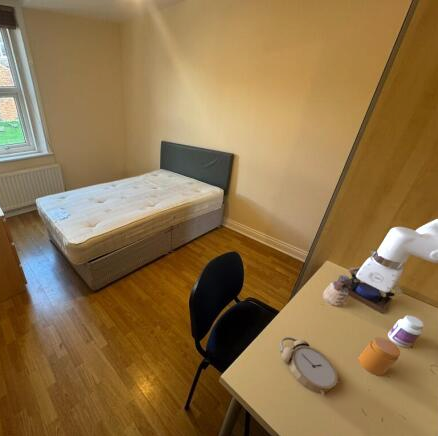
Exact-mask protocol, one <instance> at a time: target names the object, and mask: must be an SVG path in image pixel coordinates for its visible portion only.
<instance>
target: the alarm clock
mask: <svg viewBox="0 0 438 436" xmlns="http://www.w3.org/2000/svg"><path fill="white" fill-rule="evenodd" d="M287 340H289V341H292V346H285V347H284V346H283V343H284V341H287ZM280 353H281V359H282V361H283V362H284V363H285V364H288V367H289V369H290V372H291V374H292V375H293V377H294V378H295V380H296V381H297V382H299V383H300V384H301V385H302V386H303V387H305V388H307V389H308V390H309V391H311V392H314V393H317V394H321V395H322V396H323V397H326V396H325V393H327V392H329V391H331V389H333V388H334V387H335V386H336V385H337V383H341V381H340V380H339V379H338V374H337V370H336V367H335V366H334V364H333V363H332V361H330V359H329V358H328V357H327V356H326V355H325V354H324V353H322V352H321V351H319V350H318V349H316V348H314V347H312V346H310V344H309V342H307V341H306V340H304V339H299V338H298V339H295V338H293V337H289V336H288V337H287V336H286V337H283V338H282V340H281V341H280Z"/></svg>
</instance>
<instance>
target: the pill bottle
mask: <svg viewBox="0 0 438 436" xmlns="http://www.w3.org/2000/svg"><path fill="white" fill-rule="evenodd" d="M424 326H425V324H424V322H423V321H422V320H420V319H419V318H417V317H415V316H413V315H406V316H404V318H400V319H398V320H397V322H395V324H394V325H393V326H392V327H391V329H390V330H389V331H388V333H387V337H388V339H389V340H390V341H391V342H392V343H394V344H395V345H396V346H399V347H403V348H409V347H411V345H413V344H414V343H415V341H416V340H417V339H418V338H420V336H421V335H422V333H423V328H424Z"/></svg>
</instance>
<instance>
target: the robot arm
mask: <svg viewBox="0 0 438 436" xmlns="http://www.w3.org/2000/svg"><path fill="white" fill-rule="evenodd" d="M369 253H370V254H371V256H370V257H368V258H367V259H366V260H365V261H364V263H362V264H361V265H362V266H357V267H350V268H349V269H348V271H349V273H350V275H351V276H350V277H351V278H353V280H354V283H353V284H352V286H351V287H353V288H352V291H354V290H355V289H356V287H357V285H358V284H359V283H360V282H365V283H367V284H369V285H371V286H373V287H375V288H377V289H379V291H380V292H381V293H380V294H379V295H378V297H377V298H376V300H375V301H374V303H377V302H378V301H379V302H381V301H382V299H383V298H384V297H388V296H389V297H402V296H403V295H404V292H403V291H402V289H401V288H400V286H399V284H398V282H399V280H400V279H401V276H402V274H403V272H404V268H403V266H404V265H405V264H406V262H407V261H408V259H409V258H410V257H411V256H414V257H416V258H419V259H422V260H424V261H427V262H429V263H433V264H438V218H436V219H434V220H432V221H429V222H427V223H425V224H424V225H422V226H420V227H418V228H417V229H416V230H414V229H412V228H409V227H406V226H405V227H404V226H395V227H392V228H390V229H389V231H388V233H387V234H386V236H385V237H384V239H383V240H382V242H381V244H380V245H379V247H378V248H377V250H373V249H371V250H370V251H369ZM392 290H394V291H392Z"/></svg>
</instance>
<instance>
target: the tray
mask: <svg viewBox="0 0 438 436" xmlns="http://www.w3.org/2000/svg"><path fill="white" fill-rule="evenodd" d="M349 279H350V280H351V281H352V284H353V283H354V280H353V278H352V277H350V278H349ZM361 282H362V281H360V283H361ZM352 284H351V285H350V287H351V286H352ZM352 288H353V287H351V288H348V290H349V296H348V297H350V298H353V299H354V300H357V301H358V302H360V303H363V304H364V305H366V306H367V307H369V308H371V309H373V310H374V311H376V312H378V313H380V314H383V313H384V312H385V311H386V309H387V308H388V307H389V305H390V304H391V302H392V301H393V299H394V298H393V297H392V296H388V297H384V298H383V299H382V301H381V302H379V301H378V302H377V303H374V301H375V300H376V299H368V298H365V297H363V296H362V295H360V294H359V293H358V292H357V291H356V289H355V290H354V291H352ZM380 293H381V291H380Z"/></svg>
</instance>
